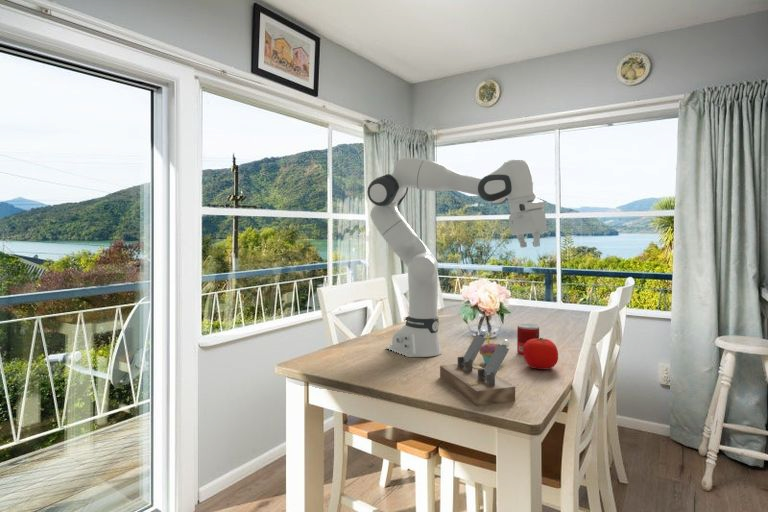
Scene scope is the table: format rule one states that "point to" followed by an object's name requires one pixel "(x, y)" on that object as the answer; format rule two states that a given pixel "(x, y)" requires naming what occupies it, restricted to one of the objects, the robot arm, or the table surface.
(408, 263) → the robot arm
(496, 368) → the cream knob lever
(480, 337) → the grey knob lever
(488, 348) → the cupcake
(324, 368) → the table surface
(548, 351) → the tomato
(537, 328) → the canned food
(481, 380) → the switch box
